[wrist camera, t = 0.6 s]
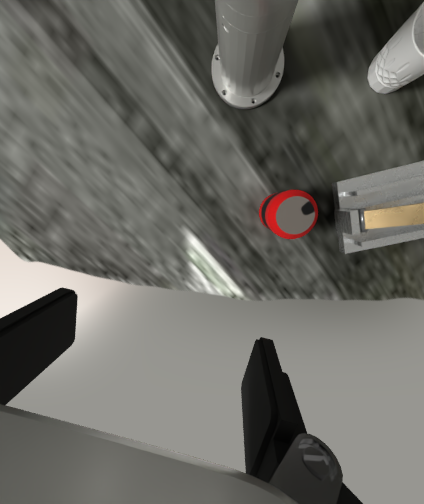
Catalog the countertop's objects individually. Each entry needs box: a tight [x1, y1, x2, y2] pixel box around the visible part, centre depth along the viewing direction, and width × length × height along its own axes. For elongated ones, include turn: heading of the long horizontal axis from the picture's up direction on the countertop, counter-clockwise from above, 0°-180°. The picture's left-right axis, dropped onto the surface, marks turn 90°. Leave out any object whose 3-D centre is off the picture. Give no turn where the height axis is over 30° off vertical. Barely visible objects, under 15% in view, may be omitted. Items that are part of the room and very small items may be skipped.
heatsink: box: [332, 161, 424, 254], centre depth 36 cm, size 14×22×8 cm, turn 104°
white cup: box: [368, 2, 424, 94], centre depth 31 cm, size 8×8×10 cm
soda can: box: [259, 190, 318, 239], centre depth 37 cm, size 8×8×12 cm
